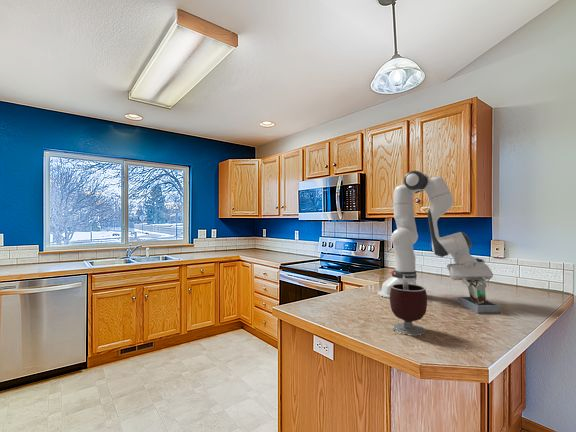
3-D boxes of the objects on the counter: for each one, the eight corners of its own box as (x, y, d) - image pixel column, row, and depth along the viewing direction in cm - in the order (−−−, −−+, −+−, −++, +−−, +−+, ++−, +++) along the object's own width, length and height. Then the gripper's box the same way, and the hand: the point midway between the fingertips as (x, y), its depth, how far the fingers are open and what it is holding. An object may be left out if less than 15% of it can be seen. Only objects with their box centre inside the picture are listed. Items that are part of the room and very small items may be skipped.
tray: (477, 313, 143) (477, 305, 144) (458, 303, 160) (458, 296, 160) (500, 313, 143) (500, 305, 144) (478, 303, 160) (478, 296, 160)
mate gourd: (432, 337, 115) (431, 284, 115) (393, 335, 117) (392, 282, 117) (421, 323, 130) (420, 276, 130) (387, 322, 133) (386, 275, 133)
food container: (494, 304, 145) (490, 284, 145) (480, 306, 146) (476, 286, 146) (481, 295, 158) (478, 276, 157) (469, 297, 159) (465, 278, 158)
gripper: (447, 260, 160) (458, 283, 150) (487, 259, 160) (500, 282, 150) (443, 267, 165) (453, 290, 155) (481, 266, 165) (494, 289, 155)
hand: (477, 286), depth 153 cm, fingers closed on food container, 6 cm apart
